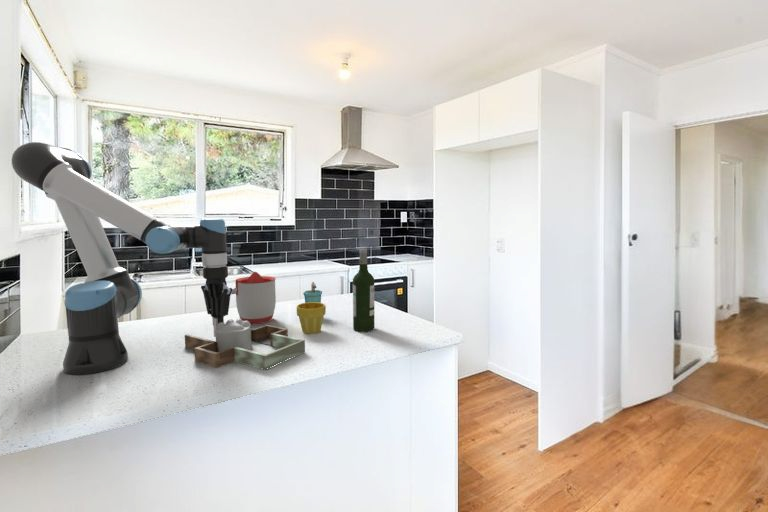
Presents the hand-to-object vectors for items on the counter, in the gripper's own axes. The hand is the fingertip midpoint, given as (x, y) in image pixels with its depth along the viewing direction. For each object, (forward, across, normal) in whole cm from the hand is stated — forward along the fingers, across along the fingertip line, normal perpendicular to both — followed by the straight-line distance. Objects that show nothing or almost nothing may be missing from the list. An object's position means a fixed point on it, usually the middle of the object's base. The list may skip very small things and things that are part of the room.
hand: (218, 335), depth 133 cm
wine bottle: (+3, -33, -38) cm, 50 cm away
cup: (+3, -6, -41) cm, 41 cm away
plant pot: (+3, -18, -26) cm, 32 cm away
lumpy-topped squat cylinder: (+3, -8, 0) cm, 8 cm away
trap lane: (+3, -12, 0) cm, 13 cm away
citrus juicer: (+3, +11, -25) cm, 27 cm away
